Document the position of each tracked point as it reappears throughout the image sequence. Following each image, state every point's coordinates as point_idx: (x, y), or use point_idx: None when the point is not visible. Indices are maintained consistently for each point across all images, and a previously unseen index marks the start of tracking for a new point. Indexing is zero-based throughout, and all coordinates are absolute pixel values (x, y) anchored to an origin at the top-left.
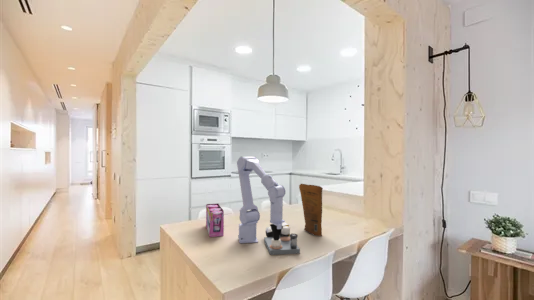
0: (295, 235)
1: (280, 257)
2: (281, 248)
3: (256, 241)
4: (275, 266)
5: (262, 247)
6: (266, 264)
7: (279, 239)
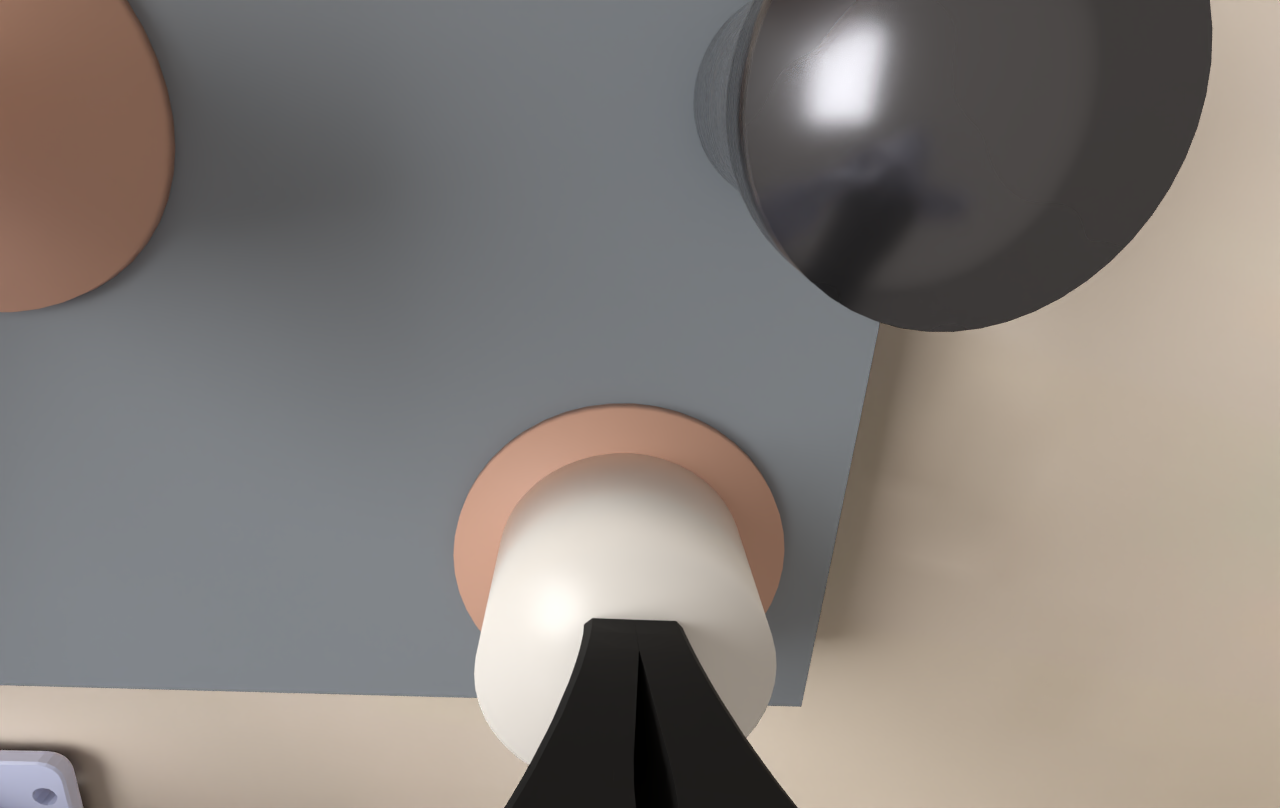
0: (1124, 36)
1: (960, 490)
2: (761, 456)
3: (56, 789)
4: (1260, 650)
5: (366, 702)
6: (1126, 754)
7: (611, 578)
